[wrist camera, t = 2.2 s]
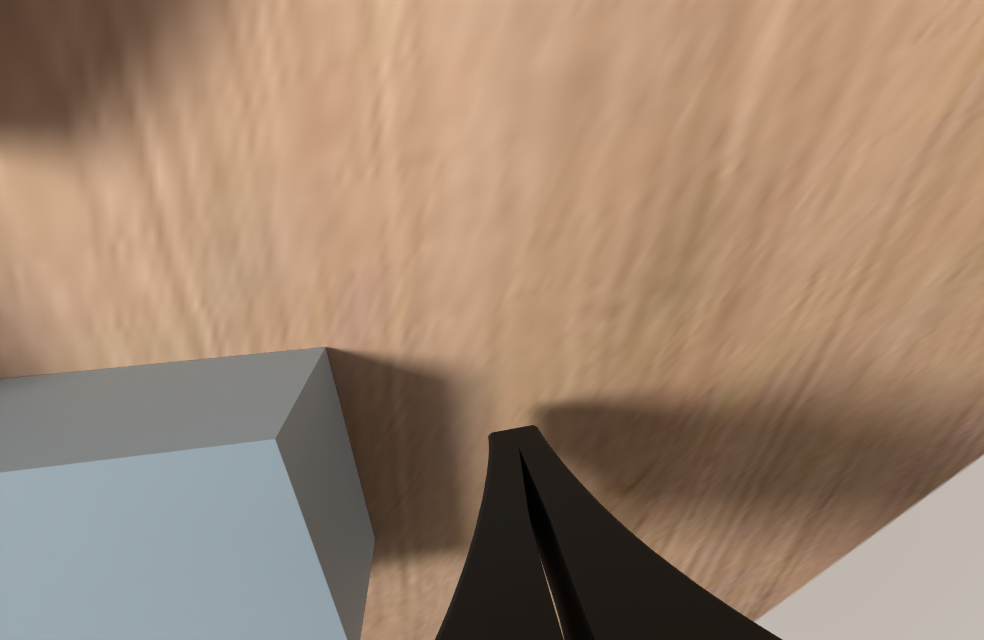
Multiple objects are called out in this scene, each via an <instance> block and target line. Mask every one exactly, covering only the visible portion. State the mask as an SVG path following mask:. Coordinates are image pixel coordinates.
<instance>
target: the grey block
mask: <svg viewBox="0 0 984 640" xmlns="http://www.w3.org/2000/svg"><path fill="white" fill-rule="evenodd" d="M374 545H375V538H374V534H373V530H372V526H371V522H370V518H369V514H368V510H367V506H366V503H365V499H364V495H363V491H362V487H361V483H360V479H359V475H358V471H357V468H356V464H355V460H354V456H353V452H352V448H351V444H350V440H349V436H348V433H347V429H346V425H345V421H344V417H343V413H342V409H341V405H340V401H339V398H338V394H337V390H336V386H335V382H334V378H333V374H332V370H331V366H330V363H329V359H328V355H327V351H326V347H320V348H309V349H299V350H289V351H279V352H269V353H259V354H249V355H238V356H228V357H218V358H208V359H198V360H188V361H178V362H167V363H157V364H147V365H137V366H127V367H117V368H107V369H96V370H86V371H76V372H66V373H56V374H46V375H35V376H25V377H15V378H5V379H1V380H0V640H360V637H361V630H362V624H363V617H364V611H365V604H366V597H367V591H368V584H369V578H370V571H371V565H372V558H373V551H374Z"/></svg>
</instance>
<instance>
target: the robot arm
mask: <svg viewBox="0 0 984 640" xmlns="http://www.w3.org/2000/svg"><path fill="white" fill-rule="evenodd" d="M488 440H489V459H488V468H487V476H486V482H485V488H484V494H483V499H482V503H481V507H480V512H479V516H478V520H477V524H476V528H475V532H474V535H473V539H472V542H471V546H470V549H469V552H468V555H467V558H466V562H465V565H464V568H463V571H462V573H461V576H460V579H459V582H458V584H457V587H456V590H455V593H454V595H453V598H452V601H451V603H450V606H449V608H448V611H447V613H446V616H445V618H444V620H443V623H442V625H441V627H440V630H439V632H438V634H437V636H436V639H435V640H782V639H780V638H779V637H777V636H775V635H774V634H772V633H771V632H769V631H767V630H766V629H764V628H762V627H761V626H759V625H758V624H756V623H754V622H753V621H751V620H750V619H748V618H747V617H745V616H744V615H742V614H741V613H739V612H737V611H736V610H734V609H733V608H731V607H730V606H728V605H727V604H725V603H724V602H722V601H721V600H719V599H718V598H717V597H715V596H714V595H712V594H711V593H709V592H708V591H706V590H705V589H704V588H702V587H701V586H699V585H698V584H696V583H695V582H694V581H692V580H691V579H690V578H688V577H687V576H686V575H684V574H683V573H682V572H680V571H679V570H678V569H676V568H675V567H674V566H672V565H671V564H670V563H669V562H667V561H666V560H665V559H663V558H662V557H661V556H659V555H658V554H657V553H655V552H654V551H653V550H652V549H650V548H649V547H648V546H647V545H646V544H644V543H643V542H642V541H641V540H640V539H638V538H637V537H636V536H635V535H634V534H633V533H631V532H630V531H629V530H628V529H627V528H626V527H625V526H624V525H622V524H621V523H620V522H619V521H618V520H617V519H616V518H615V517H614V516H613V515H612V514H611V513H610V512H608V511H607V510H606V509H605V508H604V507H603V506H602V505H601V504H600V503H599V502H598V501H597V500H596V499H595V498H594V497H593V496H592V495H591V493H590V492H589V491H588V490H587V489H586V488H585V487H584V486H583V485H582V484H581V483H580V482H579V481H578V479H577V478H576V477H575V476H574V475H573V474H572V473H571V471H570V470H569V469H568V468H567V467H566V466H565V464H564V463H563V462H562V461H561V460H560V458H559V457H558V456H557V454H556V453H555V452H554V451H553V449H552V448H551V447H550V445H549V444H548V443H547V441H546V440H545V438H544V437H543V435H542V434H541V432H540V431H539V429H538V428H537V427H536V426H534V425H531V426H525V427H520V428H515V429H509V430H504V431H498V432H493V433H491V434H490V435H489V436H488ZM539 555H540V556H539ZM540 558H541V560H540ZM541 561H542V563H541ZM542 565H543V567H542ZM543 568H544V570H543ZM544 571H545V574H546V577H547V580H548V583H549V586H550V589H551V592H552V595H553V598H554V602H555V605H556V609H557V612H558V616H559V619H560V623H561V627H562V631H563V636H564V639H563V636H562V633H561V629H560V626H559V622H558V619H557V615H556V612H555V609H554V605H553V602H552V598H551V595H550V591H549V588H548V584H547V581H546V577H545V574H544Z"/></svg>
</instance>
